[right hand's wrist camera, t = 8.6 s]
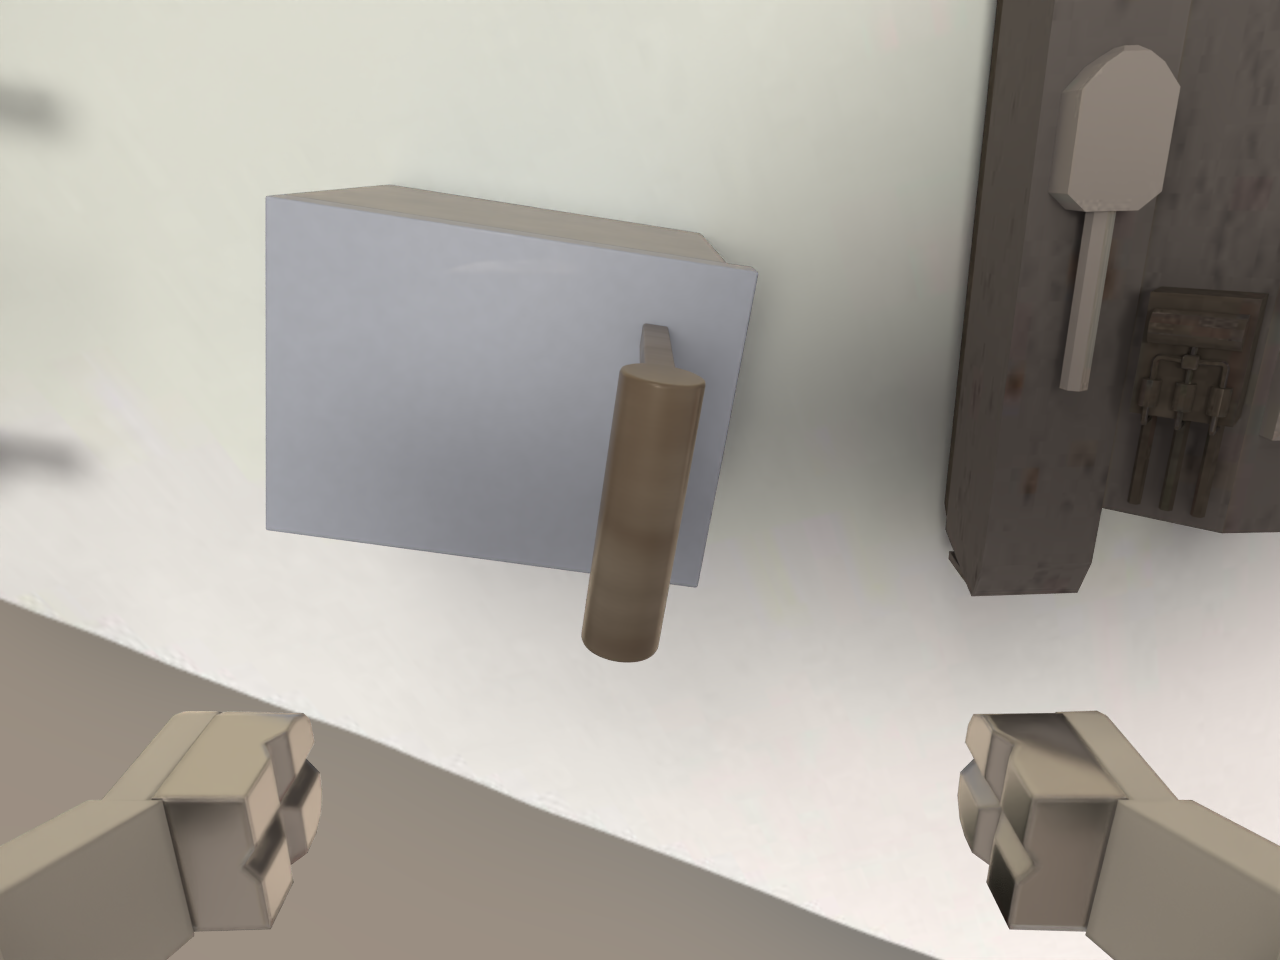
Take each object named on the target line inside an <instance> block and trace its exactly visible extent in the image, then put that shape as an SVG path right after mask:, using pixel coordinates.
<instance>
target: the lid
mask: <svg viewBox="0 0 1280 960" xmlns="http://www.w3.org/2000/svg"><path fill="white" fill-rule="evenodd" d="M757 278H758V272H757V271H756V270H755V269H754V268H752V267H748V266H741V265H735V264H728V263H722V262H716V261H709V260H703V259H696V258H690V257H683V256H677V255H670V254H664V253H658V252H651V251H645V250H638V249H632V248H625V247H619V246H612V245H606V244H599V243H593V242H587V241H580V240H574V239H567V238H561V237H554V236H548V235H541V234H535V233H528V232H522V231H516V230H509V229H503V228H496V227H490V226H483V225H477V224H470V223H464V222H457V221H451V220H445V219H438V218H432V217H425V216H419V215H412V214H406V213H399V212H393V211H386V210H380V209H374V208H367V207H361V206H354V205H348V204H341V203H335V202H328V201H322V200H316V199H309V198H303V197H296V196H290V195H272V196H266V529H267V530H271V531H279V532H286V533H293V534H301V535H308V536H316V537H323V538H331V539H338V540H346V541H353V542H361V543H368V544H375V545H383V546H390V547H398V548H405V549H413V550H420V551H428V552H435V553H442V554H450V555H457V556H465V557H472V558H480V559H487V560H495V561H502V562H510V563H517V564H524V565H532V566H539V567H547V568H554V569H562V570H569V571H577V572H584V573H590V578H589V585H588V592H587V599H586V606H585V613H584V620H583V627H582V634H581V637H582V640H583V643H584V645H585V646H586V647H587V648H588V649H589V650H590V651H591V652H593V653H594V654H596V655H598V656H600V657H602V658H605V659H608V660H612V661H617V662H638V661H642V660H645V659H648V658H649V657H651V656H652V655H653V654H654V653H655V652H656V650H657V649H658V645H659V640H660V634H661V629H662V623H663V618H664V612H665V607H666V601H667V596H668V590H669V585H670V584H674V585H681V586H688V587H697V586H698V581H699V576H700V571H701V566H702V561H703V556H704V551H705V545H706V540H707V535H708V530H709V525H710V520H711V515H712V509H713V504H714V499H715V494H716V489H717V484H718V478H719V473H720V468H721V463H722V458H723V453H724V448H725V442H726V437H727V432H728V427H729V422H730V417H731V412H732V406H733V401H734V396H735V391H736V386H737V381H738V376H739V370H740V365H741V360H742V355H743V350H744V345H745V340H746V334H747V329H748V324H749V319H750V314H751V309H752V303H753V298H754V293H755V288H756V283H757Z"/></svg>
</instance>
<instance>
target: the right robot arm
mask: <svg viewBox="0 0 1280 960" xmlns="http://www.w3.org/2000/svg"><path fill="white" fill-rule="evenodd" d="M314 743H315V740H314V735H313V730H312V725H311V720H310V719H309V718H308V717H307V716H306V715H305V714H304V713H272V712H227V711H226V712H219V711H184V712H182V713H179V714H176V715H174V716H173V717H172V718H171V719H170V720H169V721H168V722H167V723H166V725H165V726H164V727H163V728H162V729H161V730H160V732H159V733H158V734H157V735H156V736H155V737H154V739H153V740H152V741H151V742H150V743H149V745H148V746H147V747H146V748H145V749H144V750H143V752H142V753H141V754H140V755H139V756H138V757H137V759H136V760H135V761H134V762H133V763H132V765H131V766H130V767H129V768H128V769H127V770H126V772H125V773H124V774H123V775H122V776H121V777H120V779H119V780H118V781H117V782H116V783H115V785H114V786H113V787H112V788H111V789H110V790H109V792H108V793H107V794H106V795H105V796H104V798H103V799H102V800H87V801H85V802H83V803H82V804H80V805H78V806H76V807H74V808H72V809H70V810H68V811H66V812H64V813H62V814H61V815H59V816H57V817H55V818H53V819H51V820H49V821H47V822H45V823H43V824H41V825H39V826H38V827H36V828H34V829H32V830H30V831H28V832H26V833H24V834H22V835H20V836H18V837H16V838H15V839H13V840H11V841H9V842H7V843H5V844H3V845H1V846H0V960H167V959H168V958H169V957H170V956H171V955H173V954H174V953H175V952H176V951H177V950H178V949H179V948H181V947H182V946H183V945H184V944H185V943H186V942H188V941H189V940H190V939H191V938H192V937H193V936H194V932H195V931H228V930H262V929H271V928H272V925H273V923H274V921H275V919H276V917H277V915H278V913H279V911H280V909H281V907H282V905H283V903H284V901H285V899H286V897H287V895H288V893H289V891H290V889H291V886H292V884H293V876H292V870H291V864H293V863H294V862H295V861H297V860H298V859H300V858H301V857H302V856H304V855H305V854H306V853H308V851H309V849H310V847H311V844H312V842H313V840H314V838H315V836H316V833H317V829H318V824H319V820H320V815H321V810H322V785H321V778H320V772H319V771H318V770H317V769H316V768H315V767H314V766H313V765H312V764H311V763H310V762H309V761H308V760H307V759H306V757H307V756H308V754H309V752H310V750H311V748H312V747H313V745H314ZM965 743H966V745H967V747H968V748H969V750H970V752H971V754H972V756H973V758H974V759H973V760H972V761H971V762H970V763H969V764H968V765H967V766H966V767H965V768H964V769H963V770H962V771H961V772H960V779H959V787H958V806H959V817H960V822H961V825H962V829H963V832H964V836H965V838H966V840H967V842H968V845H969V847H970V849H971V851H972V853H974V854H975V855H976V856H978V857H979V858H980V859H982V860H983V861H985V862H986V863H987V864H989V870H988V876H987V884H988V886H989V889H990V891H991V893H992V895H993V897H994V899H995V901H996V903H997V905H998V907H999V909H1000V911H1001V913H1002V915H1003V917H1004V919H1005V921H1006V923H1007V925H1008V927H1009V929H1015V930H1050V931H1085V932H1086V936H1087V937H1088V938H1089V939H1090V940H1092V941H1093V942H1094V943H1095V944H1096V945H1097V946H1099V947H1100V948H1101V949H1102V950H1103V951H1104V952H1106V953H1107V954H1108V955H1109V956H1110V957H1111V958H1112V959H1114V960H1280V846H1279V845H1277V844H1275V843H1273V842H1271V841H1269V840H1267V839H1265V838H1263V837H1261V836H1259V835H1258V834H1256V833H1254V832H1252V831H1250V830H1248V829H1246V828H1244V827H1242V826H1240V825H1239V824H1237V823H1235V822H1233V821H1231V820H1229V819H1227V818H1225V817H1223V816H1221V815H1219V814H1218V813H1216V812H1214V811H1212V810H1210V809H1208V808H1206V807H1204V806H1202V805H1200V804H1198V803H1197V802H1195V801H1193V800H1178V799H1177V797H1176V796H1175V795H1174V794H1173V793H1172V792H1171V790H1170V789H1169V788H1168V787H1167V786H1166V785H1165V783H1164V782H1163V781H1162V780H1161V779H1160V778H1159V776H1158V775H1157V774H1156V773H1155V772H1154V770H1153V769H1152V768H1151V767H1150V766H1149V765H1148V763H1147V762H1146V761H1145V760H1144V759H1143V758H1142V756H1141V755H1140V754H1139V753H1138V752H1137V751H1136V749H1135V748H1134V747H1133V746H1132V745H1131V743H1130V742H1129V741H1128V740H1127V739H1126V738H1125V736H1124V735H1123V734H1122V733H1121V732H1120V731H1119V729H1118V728H1117V727H1116V726H1115V725H1114V724H1113V722H1112V721H1111V720H1110V719H1109V718H1108V716H1106V715H1104V714H1102V713H1100V712H1098V711H1074V712H1056V713H1028V714H973V716H972V718H971V720H970V722H969V724H968V728H967V734H966V740H965Z"/></svg>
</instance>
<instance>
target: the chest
mask: <svg viewBox="0 0 1280 960" xmlns="http://www.w3.org/2000/svg"><path fill="white" fill-rule="evenodd" d="M284 195H290V196H296V197H303V198H309V199H316V200H322V201H328V202H335V203H341V204H348V205H354V206H361V207H367V208H374V209H380V210H386V211H393V212H399V213H406V214H412V215H419V216H425V217H432V218H438V219H445V220H451V221H457V222H464V223H470V224H477V225H483V226H490V227H496V228H503V229H509V230H516V231H522V232H528V233H535V234H541V235H548V236H554V237H561V238H567V239H574V240H580V241H587V242H593V243H599V244H606V245H612V246H619V247H625V248H632V249H638V250H645V251H651V252H658V253H664V254H670V255H677V256H683V257H690V258H696V259H703V260H709V261H716V262H722V263H726V262H725V261H724V260H723V259H722V257H721V256H720V255H719V254H718V253H717V252H716V250H715V249H714V248H713V247H712V246H711V245H710V244H709V242H708V241H707V240H706V239H705V238H704V237H703V236H702V235H701V234H700V233H695V232H688V231H682V230H675V229H669V228H663V227H656V226H650V225H644V224H637V223H631V222H624V221H618V220H612V219H605V218H599V217H592V216H586V215H580V214H573V213H567V212H561V211H554V210H548V209H541V208H535V207H529V206H522V205H516V204H509V203H503V202H497V201H490V200H484V199H478V198H471V197H465V196H458V195H452V194H446V193H439V192H433V191H426V190H420V189H414V188H407V187H401V186H395V185H379V186H368V187H358V188H347V189H336V190H325V191H314V192H303V193H292V194H284Z"/></svg>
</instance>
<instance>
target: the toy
mask: <svg viewBox="0 0 1280 960" xmlns="http://www.w3.org/2000/svg"><path fill="white" fill-rule="evenodd" d="M1102 508H1106V509H1110V510H1115V511H1120V512H1124V513H1129V514H1134V515H1139V516H1143V517H1148V518H1153V519H1158V520H1162V521H1167V522H1172V523H1176V524H1181V525H1186V526H1191V527H1195V528H1200V529H1205V530H1210V531H1214V532H1219V533H1253V532H1280V0H998V2H997V11H996V21H995V30H994V40H993V49H992V59H991V68H990V78H989V87H988V97H987V106H986V116H985V125H984V135H983V144H982V154H981V163H980V173H979V182H978V192H977V201H976V211H975V220H974V230H973V239H972V248H971V258H970V267H969V277H968V286H967V296H966V305H965V315H964V324H963V334H962V343H961V353H960V362H959V372H958V381H957V391H956V400H955V410H954V419H953V429H952V438H951V448H950V457H949V467H948V476H947V486H946V495H945V509H946V515H947V521H946V532H947V534H948V537H949V540H950V542H951V545H952V547H953V550H954V551H949V560H950V561H951V563H952V564H953V566H954V567H955V568H956V570H957V571H958V573H959V574H960V575H961V577H962V578H963V580H964V581H965V582H966V584H967V586H968V589H969V591H970V594H971V596H992V595H1022V594H1051V593H1077V592H1078V590H1079V588H1080V586H1081V584H1082V582H1083V580H1084V577H1085V575H1086V573H1087V571H1088V569H1089V567H1090V565H1091V563H1092V558H1093V552H1094V547H1095V542H1096V536H1097V531H1098V525H1099V520H1100V515H1101V509H1102Z"/></svg>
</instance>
